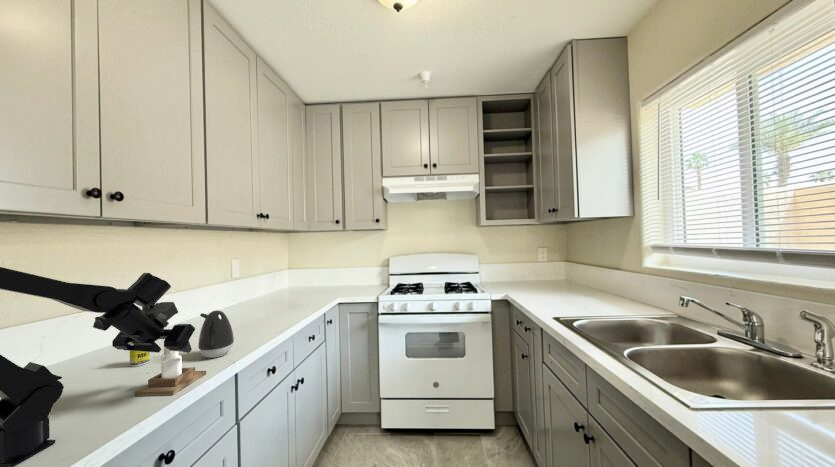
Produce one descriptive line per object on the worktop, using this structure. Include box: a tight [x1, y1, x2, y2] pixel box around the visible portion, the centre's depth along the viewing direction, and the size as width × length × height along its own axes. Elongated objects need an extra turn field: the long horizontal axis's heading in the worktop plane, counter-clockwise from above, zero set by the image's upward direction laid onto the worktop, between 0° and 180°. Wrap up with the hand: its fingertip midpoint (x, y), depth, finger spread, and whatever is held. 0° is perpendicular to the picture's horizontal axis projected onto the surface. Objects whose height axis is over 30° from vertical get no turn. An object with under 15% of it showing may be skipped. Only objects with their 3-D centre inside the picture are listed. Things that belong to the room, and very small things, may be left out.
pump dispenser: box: [198, 309, 235, 359], centre depth 106 cm, size 10×10×15 cm
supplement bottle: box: [129, 351, 151, 368], centre depth 100 cm, size 5×5×8 cm
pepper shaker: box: [160, 346, 183, 378], centre depth 84 cm, size 4×4×10 cm
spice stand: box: [134, 367, 207, 397], centre depth 85 cm, size 12×10×3 cm
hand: (174, 350), depth 86 cm, fingers open, 9 cm apart
